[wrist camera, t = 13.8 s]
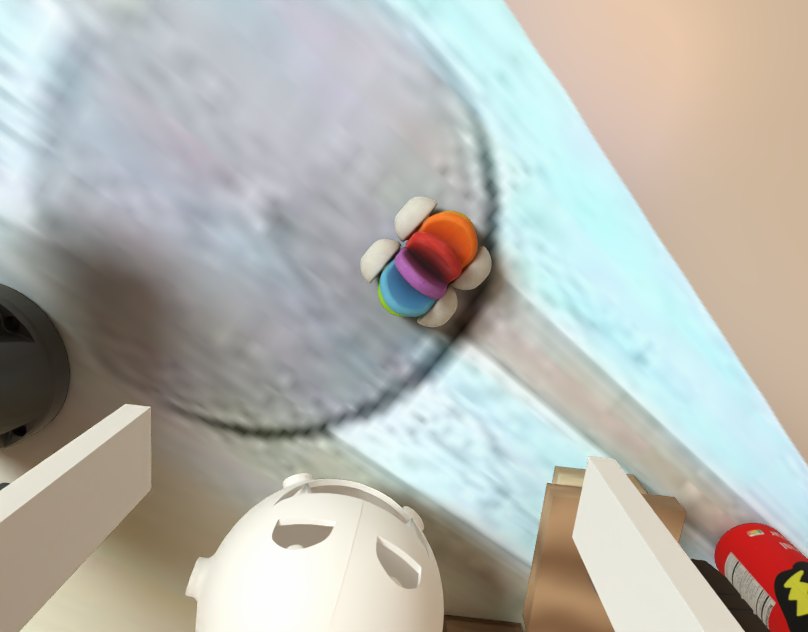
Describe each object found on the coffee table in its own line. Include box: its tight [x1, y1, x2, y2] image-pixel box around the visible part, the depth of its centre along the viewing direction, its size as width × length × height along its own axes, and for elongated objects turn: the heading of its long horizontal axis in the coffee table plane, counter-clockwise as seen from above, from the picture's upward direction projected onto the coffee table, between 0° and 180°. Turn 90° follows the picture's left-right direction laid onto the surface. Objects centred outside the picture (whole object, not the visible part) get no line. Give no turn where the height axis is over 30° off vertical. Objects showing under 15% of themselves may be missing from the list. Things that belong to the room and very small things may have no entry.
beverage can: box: [715, 523, 808, 632], centre depth 42 cm, size 6×6×12 cm
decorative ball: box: [185, 473, 444, 632], centre depth 39 cm, size 20×17×20 cm
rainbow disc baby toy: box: [361, 197, 491, 327], centre depth 39 cm, size 8×10×7 cm
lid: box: [523, 483, 687, 632], centre depth 42 cm, size 13×10×3 cm
